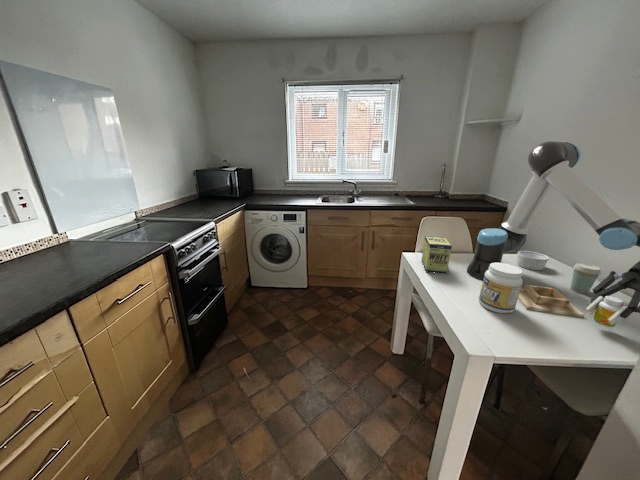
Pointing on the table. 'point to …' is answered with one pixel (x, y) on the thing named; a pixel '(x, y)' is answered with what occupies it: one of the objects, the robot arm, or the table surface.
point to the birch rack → (547, 301)
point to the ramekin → (532, 260)
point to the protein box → (436, 254)
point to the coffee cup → (584, 277)
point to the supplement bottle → (607, 311)
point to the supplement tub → (501, 287)
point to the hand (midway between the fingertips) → (598, 316)
